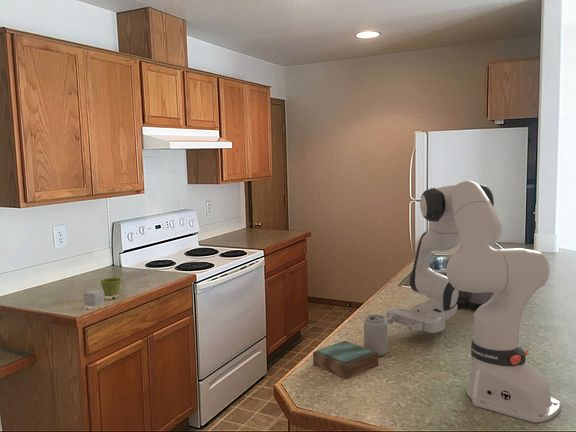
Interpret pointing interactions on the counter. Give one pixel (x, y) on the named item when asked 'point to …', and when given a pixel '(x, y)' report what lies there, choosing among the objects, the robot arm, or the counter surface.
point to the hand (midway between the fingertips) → (399, 324)
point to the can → (375, 334)
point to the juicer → (472, 299)
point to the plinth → (345, 359)
